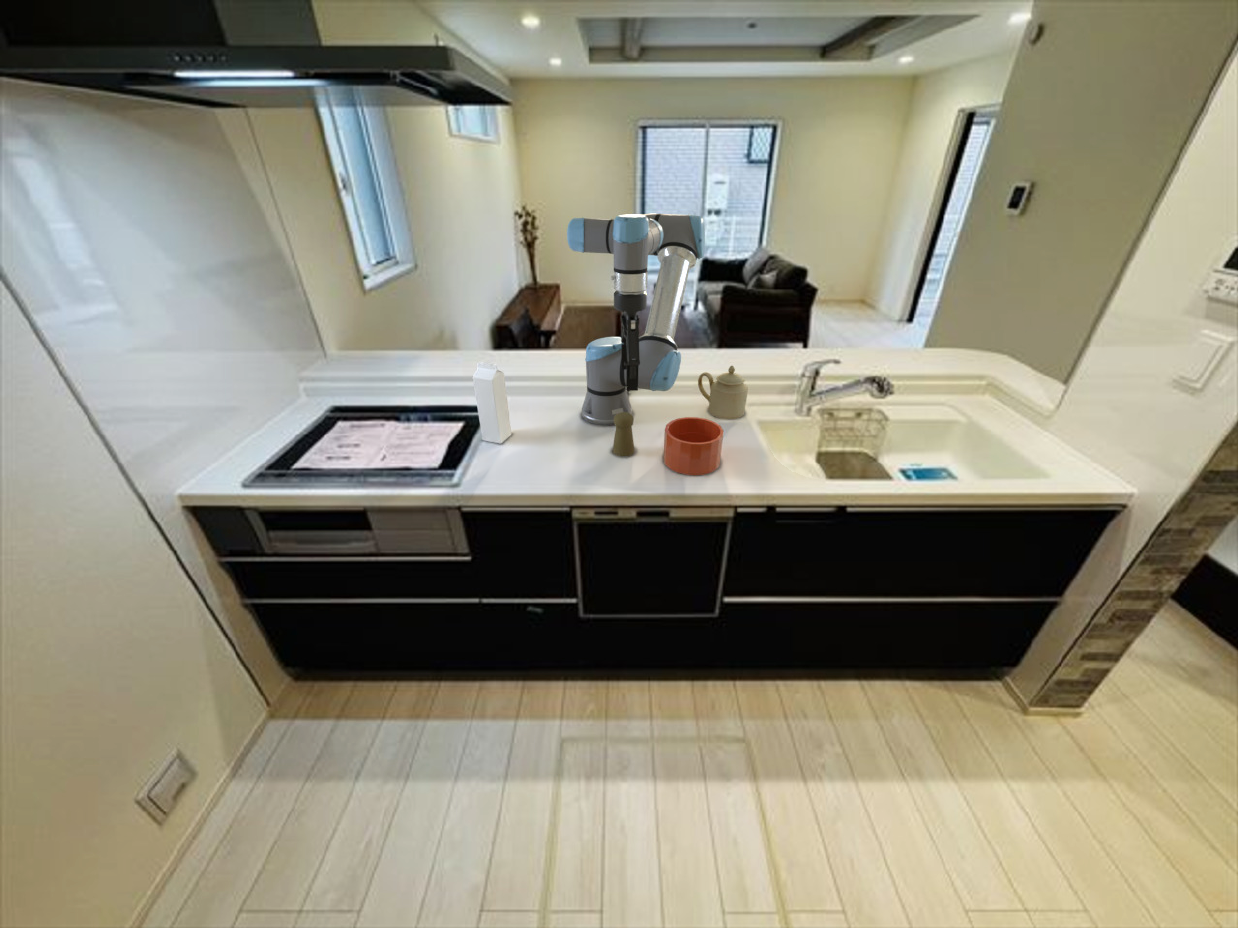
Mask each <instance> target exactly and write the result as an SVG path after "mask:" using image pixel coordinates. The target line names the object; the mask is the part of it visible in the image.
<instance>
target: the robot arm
mask: <svg viewBox="0 0 1238 928" xmlns="http://www.w3.org/2000/svg"><path fill="white" fill-rule="evenodd" d="M568 222H569V223H568V225H567V229H566V241H567V244H568V247H569V248H570V250H571V251H573V252H579V253H582V254H583V253H586V254H587V253H589V254H610V255H611V254H612V255H613V274H614V275H611V277H610V280H611V281H613V289H614V292H613V308H614V309H615V310H616V311H619V312H621V315H620V326H621V327H620V331H621V332H620V336H605V337H600V338H597V339H595V340H592V341H591V342H589V343H588V344H587V345H586V348H585V367H586V368H585V373H586V374H585V375H586V394H585V397H584V400H583V404H582V407H581V416H582V418H583V419H584V420H585V421H586V422H588V423H590V424H594V425H598V426H615V424H614V417H615V415H616V414H618V413H620V412H627V413H630V414H631V415H632V416H633V407H632V404H631V402H630V399H629V393H630V392H632V391H634V392H635V391H639V390H640V389H641V390H647V391H652V392H657V391H658V392H668V391H669V390H670V389H672V388H673V386H674V385H675V382H676V381H677V378H678V375H679V372H680V370H681V369H680V368H681V367H680V366H681V363H682V354H681V352H680V351H679V350H678V344H677V343H676V342H675V338H676V337H675V336H676V331H677V326H678V322H679V318H680V313H681V309H682V304H683V300H684V296H685V291H686V286H687V282H688V278H689V273H690V270H691V269H693V268H694V267H695V266H696V265H697V260H700V259H703V258H704V256H705V249H706V228H705V220H704V219H703V217H702V216H700V215H698V214H697V215H695V214H691V213H688V214H672V213H655V212H654V213H645V214H638V213H637V214H634V213H633V214H628V213H627V214H619V215H617V216H616V217H614V218H598V217H597V218H596V217H595V218H594V217H574V218H572V219H570V221H568ZM649 256H654V257H656V258H657V260H658V262H659V264H660V265H659V270H658V272H657V279H656V282H655V286H654V287H655V288H654V292H653V296H652V300H651V305H650V309H649V313H648V318H647V322H646V327H645V330H644V334H643V335H640V327H639V326H640V318H639V315H638V314H637V313H638V312H642V311H644V310H646V308H647V305H648V304H647V301H648V293H647V290H648V275H649V271H648V262H649Z"/></svg>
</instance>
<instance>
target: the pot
mask: <svg viewBox="0 0 1238 928" xmlns="http://www.w3.org/2000/svg"><path fill="white" fill-rule="evenodd" d="M663 436H664V439H663V455H662V457H663V462H664V464H665V466H666V467H667V468H668V469H670V470H671V471H673V472H675V473H678V474H682V475H686V476H704V475H708V474H711V473H713V472H714V471H716V470H717V469H718V468H720V467H719V466H720V465H721V457H722V456H721V455H722V449H723V439H724V429H723V427H722V426H721V425H720V424H718V423H717V422H715V421H713V420H710V419H708V418H703V417H697V416H685V417H679V418H675V419H673V420H670V421H669V422H668V423H667V424H665V428H664V435H663Z"/></svg>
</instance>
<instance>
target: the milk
mask: <svg viewBox="0 0 1238 928" xmlns="http://www.w3.org/2000/svg"><path fill="white" fill-rule="evenodd" d="M476 366H477V368H476V370H475V372H474V373H473V375H472V381H473V382H472V383H473V389H474V396H475V402H476V407H477V415H478V420H479V421H478V422H479V427H480V432H481V440H482V441H484V442H490V443H495V444H500V445H501V444H502V443H504V442H505V441H506V440H507V439H508V438H509V437H510V436H511V435H512V426H511V417H510V409H509V402H508V396H507V395H508V394H507V393H508V392H507V386H506V379H505V378H506V377H505V372H504V371H502V370H499V369H498V365H497V364H496V363H489V362H483V361H477V362H476Z"/></svg>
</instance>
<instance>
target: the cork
mask: <svg viewBox="0 0 1238 928" xmlns="http://www.w3.org/2000/svg"><path fill="white" fill-rule="evenodd" d="M614 424H615V425H614V426H615V429H614V437H613V444H612V454H613V455H615V456H617V457H621V458H622V457H624V458H627V457H630V456H633V455H634V454H635V443H634V434H633V427H632V426H633V425H634V416H633V414H632V415H631V414H630V413H627V412H620V413H618V414H616V415H615V417H614Z"/></svg>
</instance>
